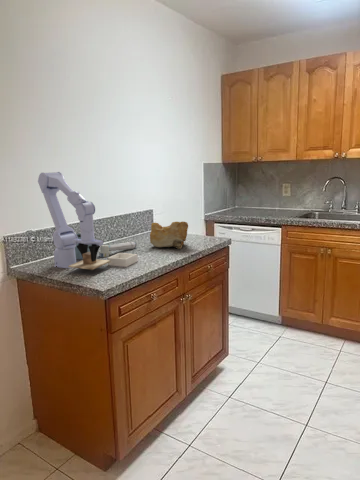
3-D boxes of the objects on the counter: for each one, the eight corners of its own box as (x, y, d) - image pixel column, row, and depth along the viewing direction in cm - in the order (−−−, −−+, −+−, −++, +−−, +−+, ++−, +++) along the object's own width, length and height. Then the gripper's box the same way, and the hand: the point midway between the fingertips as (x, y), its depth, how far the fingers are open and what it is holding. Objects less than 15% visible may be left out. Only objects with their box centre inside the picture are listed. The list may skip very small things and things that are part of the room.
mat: (67, 273, 159) (67, 272, 159) (87, 265, 171) (87, 264, 171) (93, 276, 153) (93, 275, 153) (112, 268, 166) (112, 266, 165)
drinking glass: (97, 256, 189) (95, 233, 186) (87, 261, 179) (85, 237, 177) (80, 255, 192) (78, 232, 189) (69, 260, 182) (67, 236, 180)
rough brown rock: (198, 246, 206) (198, 220, 205) (184, 250, 192) (183, 222, 190) (163, 244, 218) (163, 219, 216) (147, 248, 204) (147, 221, 202)
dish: (108, 266, 169) (107, 257, 168) (119, 260, 178) (119, 252, 177) (126, 267, 165) (125, 259, 164) (137, 262, 174) (137, 254, 173)
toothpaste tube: (137, 241, 203) (103, 244, 182) (137, 253, 203) (103, 257, 183) (130, 240, 206) (96, 243, 185) (130, 252, 206) (96, 256, 186)
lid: (68, 267, 158) (67, 255, 157) (87, 259, 170) (86, 249, 169) (92, 269, 153) (91, 257, 152) (110, 261, 165) (109, 250, 164)
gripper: (67, 231, 158) (70, 261, 161) (95, 232, 152) (97, 264, 155) (78, 228, 164) (80, 257, 167) (105, 229, 158) (107, 260, 161)
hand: (89, 260), depth 161 cm, fingers closed on lid, 4 cm apart
